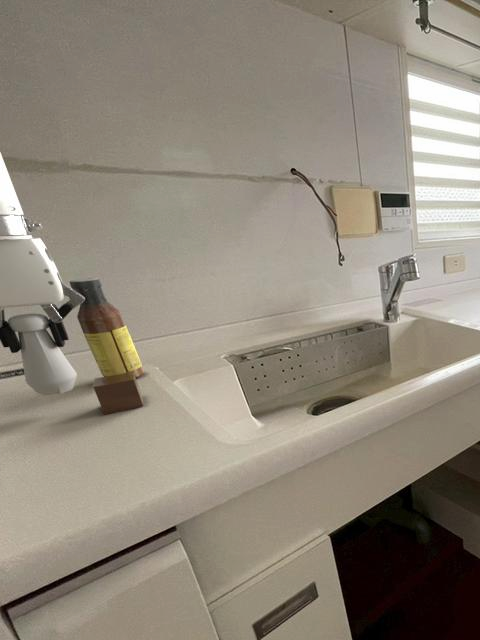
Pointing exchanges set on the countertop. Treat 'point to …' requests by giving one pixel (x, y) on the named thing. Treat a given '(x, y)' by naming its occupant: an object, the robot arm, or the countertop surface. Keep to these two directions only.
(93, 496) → the countertop surface
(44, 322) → the salt shaker
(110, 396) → the walnut block
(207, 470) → the countertop surface
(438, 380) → the countertop surface
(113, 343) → the sauce bottle
